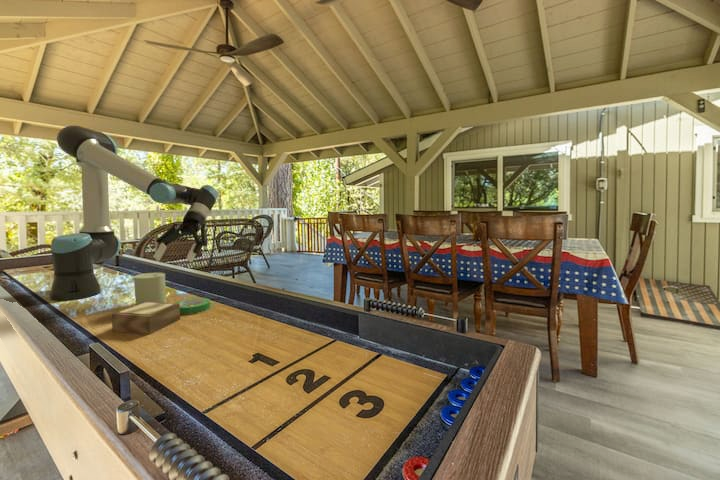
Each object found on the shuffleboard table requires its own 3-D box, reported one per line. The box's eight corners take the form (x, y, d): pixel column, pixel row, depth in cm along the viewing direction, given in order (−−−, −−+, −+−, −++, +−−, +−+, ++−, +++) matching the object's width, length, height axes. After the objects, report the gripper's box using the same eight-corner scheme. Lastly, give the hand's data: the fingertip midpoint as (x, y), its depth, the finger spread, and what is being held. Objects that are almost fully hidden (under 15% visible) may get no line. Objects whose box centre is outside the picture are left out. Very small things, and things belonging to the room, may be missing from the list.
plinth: (112, 331, 95) (111, 313, 94) (146, 316, 107) (145, 300, 106) (150, 334, 93) (148, 315, 92) (180, 319, 105) (179, 303, 104)
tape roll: (192, 316, 108) (191, 308, 108) (166, 312, 112) (165, 304, 112) (217, 306, 118) (217, 299, 118) (193, 303, 122) (193, 296, 122)
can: (152, 313, 110) (150, 277, 109) (128, 311, 112) (126, 276, 111) (173, 305, 119) (171, 271, 118) (151, 303, 121) (148, 270, 119)
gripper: (228, 222, 138) (208, 266, 125) (173, 222, 142) (148, 264, 129) (220, 210, 132) (198, 254, 119) (163, 210, 137) (136, 252, 124)
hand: (172, 259), depth 124 cm, fingers open, 13 cm apart
